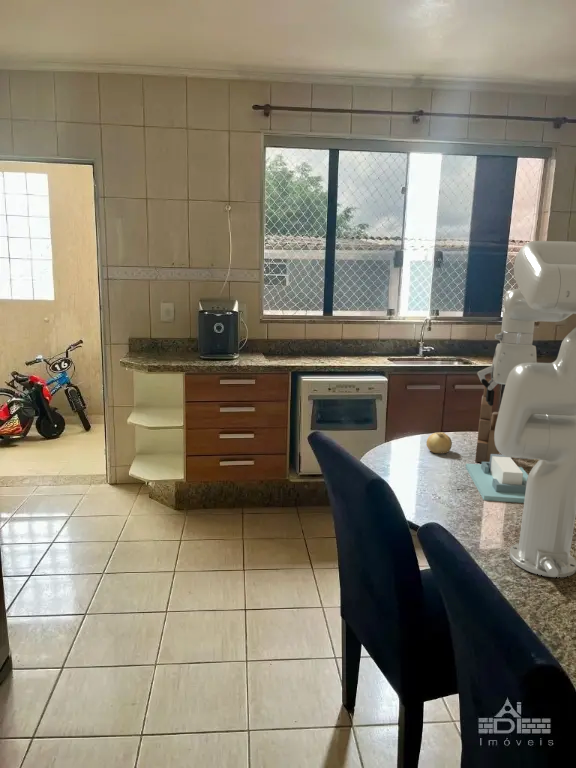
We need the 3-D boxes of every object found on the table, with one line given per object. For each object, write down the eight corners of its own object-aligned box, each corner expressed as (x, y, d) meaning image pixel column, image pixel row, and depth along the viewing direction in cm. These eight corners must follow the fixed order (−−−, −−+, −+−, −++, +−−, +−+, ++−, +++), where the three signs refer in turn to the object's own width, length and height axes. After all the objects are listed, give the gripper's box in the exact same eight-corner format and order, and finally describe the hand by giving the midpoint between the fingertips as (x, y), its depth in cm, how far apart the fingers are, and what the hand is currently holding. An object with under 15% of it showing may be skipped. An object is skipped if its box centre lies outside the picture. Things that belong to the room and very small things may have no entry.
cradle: (548, 504, 144) (550, 492, 143) (483, 500, 145) (485, 488, 145) (520, 470, 167) (522, 460, 166) (465, 467, 169) (466, 457, 168)
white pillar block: (521, 491, 149) (523, 472, 148) (501, 489, 149) (503, 471, 148) (507, 471, 162) (509, 455, 161) (488, 470, 163) (490, 453, 162)
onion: (420, 449, 183) (422, 429, 182) (439, 446, 187) (440, 426, 186) (437, 457, 177) (439, 436, 175) (456, 454, 180) (458, 432, 179)
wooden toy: (498, 465, 171) (507, 384, 166) (475, 462, 173) (483, 382, 168) (498, 450, 185) (506, 375, 180) (476, 447, 188) (484, 373, 182)
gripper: (484, 339, 139) (477, 406, 142) (557, 342, 137) (549, 410, 140) (477, 336, 147) (472, 401, 150) (547, 339, 145) (540, 404, 148)
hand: (509, 405), depth 145 cm, fingers open, 9 cm apart
